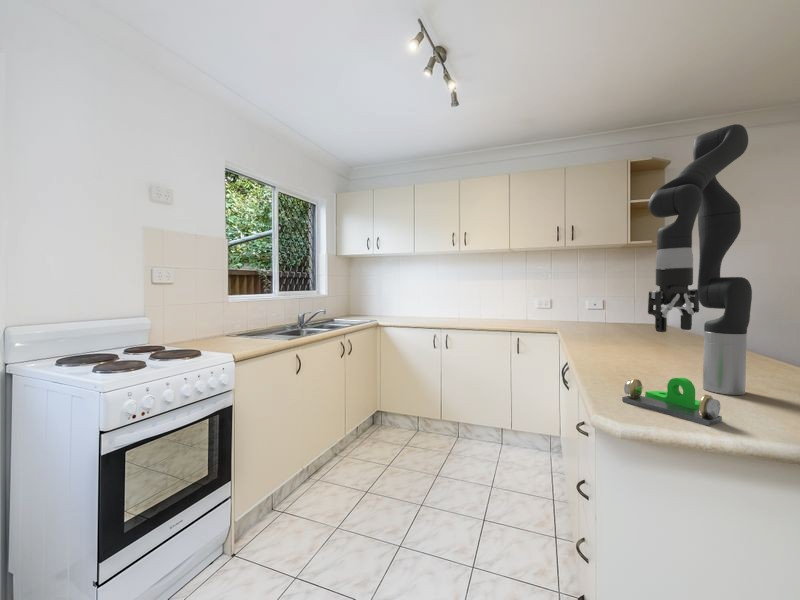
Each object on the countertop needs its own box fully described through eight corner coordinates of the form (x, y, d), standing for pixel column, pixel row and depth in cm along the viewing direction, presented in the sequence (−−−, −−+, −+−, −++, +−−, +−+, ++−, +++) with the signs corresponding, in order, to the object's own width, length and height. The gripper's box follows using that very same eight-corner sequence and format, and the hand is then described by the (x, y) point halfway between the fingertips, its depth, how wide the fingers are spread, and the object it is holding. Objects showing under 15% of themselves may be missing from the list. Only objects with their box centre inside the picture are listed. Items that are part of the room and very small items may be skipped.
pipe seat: (634, 398, 98) (635, 376, 98) (721, 421, 81) (722, 395, 81) (622, 401, 95) (622, 379, 95) (709, 426, 78) (709, 398, 78)
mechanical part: (708, 411, 88) (708, 379, 87) (688, 413, 87) (688, 381, 86) (663, 397, 99) (663, 368, 99) (645, 398, 98) (645, 369, 98)
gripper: (679, 267, 96) (679, 327, 97) (638, 268, 92) (638, 330, 93) (710, 265, 89) (709, 330, 89) (667, 266, 85) (667, 334, 85)
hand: (673, 330), depth 91 cm, fingers open, 8 cm apart
